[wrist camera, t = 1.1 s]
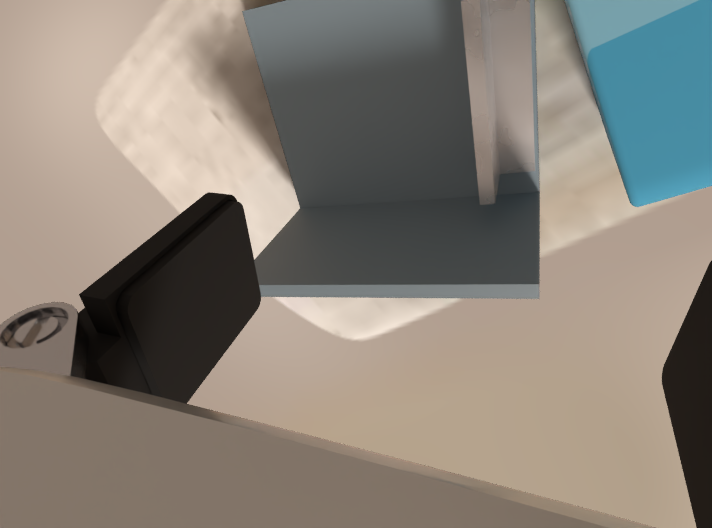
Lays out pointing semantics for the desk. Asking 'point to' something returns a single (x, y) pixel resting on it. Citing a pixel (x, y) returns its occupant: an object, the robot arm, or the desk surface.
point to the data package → (651, 89)
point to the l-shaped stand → (387, 157)
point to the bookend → (499, 89)
